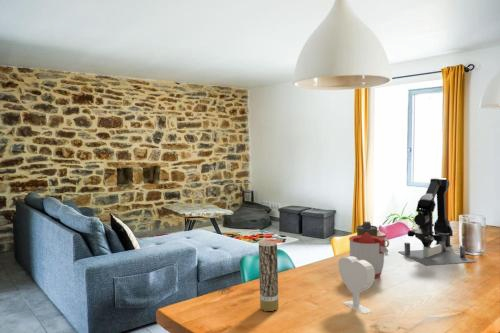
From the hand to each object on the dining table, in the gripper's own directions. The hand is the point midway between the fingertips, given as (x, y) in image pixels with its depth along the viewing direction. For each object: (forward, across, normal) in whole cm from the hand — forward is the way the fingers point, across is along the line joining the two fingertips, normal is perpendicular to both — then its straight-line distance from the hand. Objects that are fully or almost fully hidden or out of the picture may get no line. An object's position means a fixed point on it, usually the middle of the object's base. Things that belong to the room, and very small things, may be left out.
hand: (426, 251), depth 212 cm
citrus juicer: (+2, -2, -48) cm, 49 cm away
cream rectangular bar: (+2, +2, +3) cm, 4 cm away
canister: (+3, -17, -28) cm, 33 cm away
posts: (+3, +3, +3) cm, 5 cm away
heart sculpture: (+2, +16, -82) cm, 83 cm away
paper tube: (+2, -4, -107) cm, 107 cm away
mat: (+3, +4, +2) cm, 5 cm away
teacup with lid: (+3, -23, -8) cm, 25 cm away
